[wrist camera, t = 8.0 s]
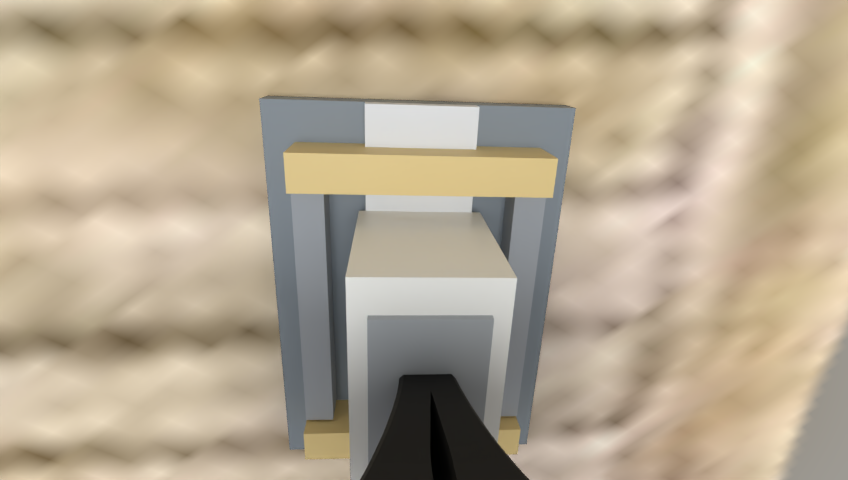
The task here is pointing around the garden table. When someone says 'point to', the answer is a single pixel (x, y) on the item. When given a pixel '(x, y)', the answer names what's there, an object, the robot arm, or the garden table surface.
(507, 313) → the block
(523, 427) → the rail base
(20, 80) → the garden table surface
